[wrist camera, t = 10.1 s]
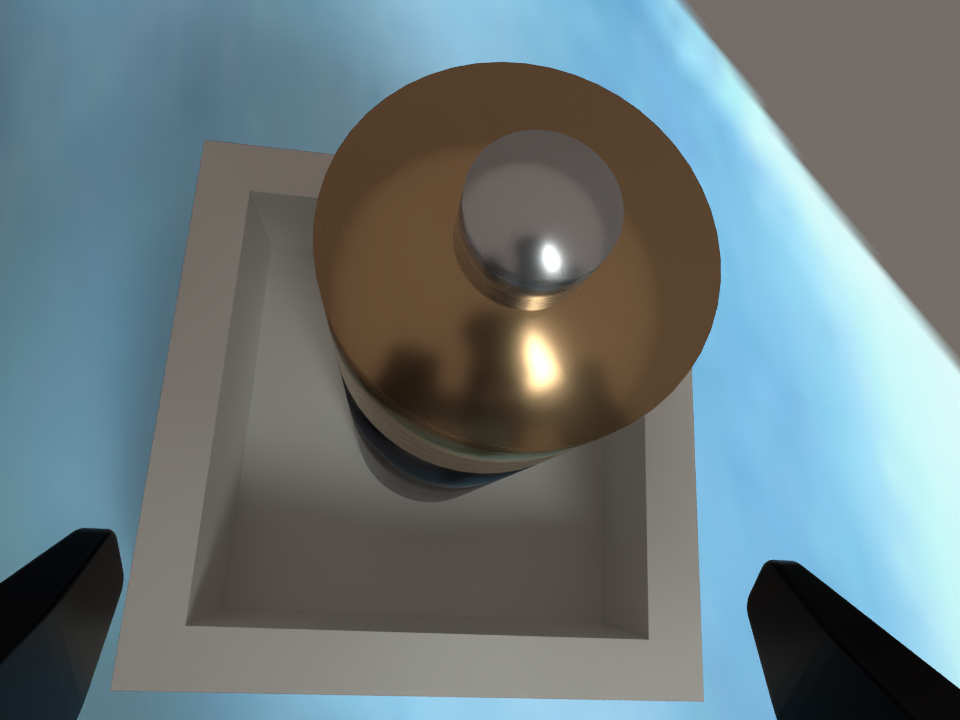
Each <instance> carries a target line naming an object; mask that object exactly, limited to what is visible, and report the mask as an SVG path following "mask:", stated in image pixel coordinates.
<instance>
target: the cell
mask: <svg viewBox="0 0 960 720" xmlns="http://www.w3.org/2000/svg"><path fill="white" fill-rule="evenodd" d="M313 256H314V264H315V272H316V279H317V282H318V286H319V290H320V294H321V298H322V302H323V306H324V310H325V314H326V318H327V322H328V326H329V330H330V334H331V338H332V341H333V345H334V349H335V353H336V357H337V361H338V365H339V369H340V373H341V377H342V381H343V385H344V389H345V393H346V397H347V400H348V404H349V408H350V412H351V416H352V420H353V424H354V428H355V432H356V436H357V440H358V444H359V447H360V451H361V454H362V456H363V459H364V461H365V463H366V465H367V466H368V468H369V470H370V471H371V472H372V474H373V475H374V476H375V477H376V478H377V479H378V480H379V481H380V482H381V483H382V484H383V485H384V486H385V487H387V488H388V489H389V490H391V491H393V492H394V493H396V494H398V495H400V496H403V497H405V498H408V499H411V500H415V501H421V502H441V501H447V500H451V499H454V498H457V497H460V496H462V495H464V494H467V493H469V492H472V491H474V490H477V489H479V488H481V487H484V486H486V485H489V484H491V483H493V482H496V481H498V480H501V479H503V478H506V477H508V476H510V475H513V474H515V473H518V472H520V471H522V470H525V469H527V468H530V467H532V466H535V465H537V464H539V463H542V462H544V461H547V460H549V459H551V458H554V457H556V456H559V455H561V454H564V453H566V452H568V451H571V450H573V449H576V448H578V447H580V446H583V445H585V444H588V443H590V442H593V441H595V440H597V439H600V438H602V437H605V436H607V435H609V434H611V433H613V432H615V431H618V430H620V429H622V428H624V427H626V426H628V425H630V424H632V423H633V422H635V421H636V420H638V419H640V418H641V417H643V416H644V415H646V414H647V413H649V412H650V411H652V410H653V409H654V408H655V407H656V406H658V405H659V404H660V403H661V402H662V401H663V400H664V399H665V398H666V397H668V396H669V395H670V394H671V393H672V392H673V391H674V390H675V388H676V387H677V386H678V385H679V384H680V382H681V381H682V380H683V379H684V378H685V376H686V375H687V374H688V373H689V371H690V369H691V368H692V366H693V365H694V363H695V361H696V360H697V358H698V357H699V355H700V353H701V351H702V349H703V347H704V345H705V342H706V340H707V338H708V335H709V333H710V331H711V328H712V324H713V321H714V317H715V313H716V310H717V306H718V298H719V291H720V283H721V259H720V250H719V243H718V236H717V231H716V227H715V223H714V220H713V216H712V212H711V209H710V207H709V204H708V202H707V199H706V197H705V194H704V192H703V189H702V187H701V185H700V183H699V182H698V180H697V178H696V176H695V174H694V173H693V171H692V169H691V167H690V165H689V164H688V163H687V161H686V160H685V159H684V157H683V156H682V154H681V153H680V152H679V150H678V149H677V147H676V146H675V145H674V144H673V143H672V141H671V140H670V139H669V138H668V137H667V136H666V135H665V134H664V133H663V132H662V130H661V129H660V128H659V127H658V126H657V125H655V124H654V123H653V122H652V121H651V120H650V119H649V118H648V117H646V116H645V115H644V114H643V113H642V112H641V111H640V110H638V109H637V108H635V107H634V106H632V105H631V104H630V103H628V102H627V101H625V100H624V99H622V98H621V97H620V96H618V95H616V94H614V93H612V92H611V91H609V90H607V89H605V88H603V87H602V86H600V85H598V84H596V83H593V82H591V81H588V80H586V79H584V78H581V77H579V76H576V75H574V74H570V73H567V72H563V71H560V70H556V69H553V68H549V67H543V66H537V65H532V64H526V63H509V62H493V63H476V64H471V65H465V66H459V67H454V68H450V69H447V70H443V71H440V72H437V73H434V74H430V75H428V76H425V77H423V78H421V79H419V80H417V81H414V82H412V83H410V84H408V85H406V86H404V87H403V88H401V89H399V90H398V91H396V92H395V93H393V94H391V95H390V96H388V97H386V98H385V99H384V100H383V101H381V102H380V103H379V104H378V105H377V106H375V107H374V108H373V109H372V110H371V111H369V112H368V113H367V114H366V115H365V116H364V117H363V118H362V119H361V120H360V122H359V123H358V124H357V125H356V126H355V127H354V128H353V129H352V130H351V131H350V133H349V134H348V136H347V137H346V139H345V140H344V142H343V143H342V144H341V146H340V147H339V149H338V150H337V152H336V154H335V156H334V158H333V160H332V162H331V164H330V166H329V168H328V170H327V172H326V174H325V177H324V180H323V183H322V186H321V189H320V192H319V196H318V199H317V205H316V211H315V217H314V223H313Z"/></svg>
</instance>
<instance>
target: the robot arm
mask: <svg viewBox="0 0 960 720" xmlns="http://www.w3.org/2000/svg"><path fill="white" fill-rule="evenodd" d="M122 586H123V568H122V563H121V558H120V552H119V547H118V542H117V537H116V534H115V533H114V532H113V531H112V530H109V529H97V528H81V529H78V530H75V531H74V532H72V533H71V534H69V535H68V536H66V537H65V538H64V539H62V540H61V541H59V542H58V543H56V544H55V545H54V546H52V547H51V548H49V549H48V550H47V551H45V552H44V553H42V554H41V555H39V556H38V557H37V558H35V559H34V560H32V561H31V562H30V563H28V564H27V565H25V566H24V567H22V568H21V569H20V570H18V571H17V572H15V573H14V574H13V575H11V576H10V577H8V578H7V579H5V580H4V581H3V582H1V583H0V720H77V718H78V716H79V713H80V711H81V709H82V706H83V703H84V701H85V698H86V695H87V692H88V690H89V687H90V684H91V681H92V678H93V675H94V672H95V669H96V666H97V663H98V660H99V657H100V654H101V651H102V648H103V645H104V642H105V639H106V636H107V633H108V630H109V627H110V624H111V621H112V618H113V615H114V612H115V609H116V606H117V603H118V600H119V597H120V594H121V591H122ZM747 612H748V617H749V621H750V625H751V628H752V632H753V636H754V639H755V643H756V647H757V650H758V654H759V658H760V661H761V665H762V669H763V672H764V676H765V680H766V683H767V687H768V691H769V694H770V698H771V702H772V705H773V708H774V711H775V715H776V718H777V720H960V689H959V688H958V687H957V686H955V685H954V684H953V683H952V682H950V681H949V680H948V679H946V678H945V677H944V676H943V675H941V674H940V673H939V672H937V671H936V670H935V669H934V668H932V667H931V666H930V665H929V664H927V663H926V662H925V661H923V660H922V659H921V658H920V657H918V656H917V655H916V654H914V653H913V652H912V651H911V650H909V649H908V648H907V647H906V646H904V645H903V644H902V643H900V642H899V641H898V640H897V639H895V638H894V637H893V636H891V635H890V634H889V633H888V632H886V631H885V630H884V629H883V628H881V627H880V626H879V625H877V624H876V623H875V622H874V621H872V620H871V619H870V618H868V617H867V616H866V615H865V614H863V613H862V612H861V611H859V610H858V609H857V608H856V607H854V606H853V605H852V604H851V603H849V602H848V601H847V600H845V599H844V598H843V597H842V596H840V595H839V594H838V593H836V592H835V591H834V590H833V589H831V588H830V587H829V586H828V585H826V584H825V583H824V582H822V581H821V580H820V579H819V578H817V577H816V576H815V575H813V574H812V573H811V572H810V571H808V570H807V569H806V568H805V567H803V566H802V565H800V564H799V563H797V562H794V561H786V560H769V561H767V562H766V563H765V564H764V565H763V567H762V569H761V571H760V573H759V575H758V577H757V580H756V582H755V584H754V586H753V588H752V590H751V592H750V595H749V597H748V602H747Z"/></svg>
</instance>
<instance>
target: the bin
mask: <svg viewBox="0 0 960 720" xmlns="http://www.w3.org/2000/svg"><path fill="white" fill-rule="evenodd" d="M334 156H335V155H334V154H325V153H316V152H307V151H298V150H289V149H280V148H272V147H263V146H254V145H245V144H236V143H227V142H218V141H210V140H204V146H203V152H202V158H201V163H200V169H199V175H198V181H197V187H196V193H195V198H194V204H193V210H192V216H191V222H190V228H189V234H188V239H187V245H186V251H185V257H184V263H183V269H182V274H181V280H180V286H179V292H178V298H177V304H176V309H175V315H174V321H173V327H172V333H171V339H170V344H169V350H168V356H167V362H166V368H165V374H164V380H163V385H162V391H161V397H160V403H159V409H158V415H157V420H156V426H155V432H154V438H153V444H152V450H151V455H150V461H149V467H148V473H147V479H146V485H145V491H144V496H143V502H142V508H141V514H140V520H139V526H138V531H137V537H136V543H135V549H134V555H133V561H132V566H131V572H130V578H129V584H128V590H127V596H126V601H125V607H124V613H123V619H122V625H121V631H120V637H119V642H118V648H117V654H116V660H115V666H114V672H113V677H112V683H111V689H110V691H158V692H212V693H265V694H319V695H373V696H426V697H480V698H533V699H587V700H641V701H694V702H704V692H703V664H702V637H701V609H700V582H699V555H698V527H697V500H696V472H695V445H694V417H693V390H692V368H691V369H690V371H689V373H688V374H687V375H686V376H685V378H684V379H683V380H682V381H681V382H680V384H679V385H678V386H677V387H676V388H675V390H674V391H673V392H672V393H671V394H670V395H669V396H668V397H666V398H665V399H664V400H663V401H662V402H661V403H660V404H659V405H658V406H656V407H655V408H654V409H653V410H652V411H650V412H649V413H647V414H646V415H644V416H643V417H641V418H640V419H638V420H636V421H635V422H633V423H632V424H630V425H628V426H626V427H624V428H622V429H620V430H618V431H615V432H613V433H611V434H609V435H607V436H605V437H602V438H600V439H597V440H595V441H593V442H590V443H588V444H585V445H583V446H580V447H578V448H576V449H573V450H571V451H568V452H566V453H564V454H561V455H559V456H556V457H554V458H551V459H549V460H547V461H544V462H542V463H539V464H537V465H535V466H532V467H530V468H527V469H525V470H522V471H520V472H518V473H515V474H513V475H510V476H508V477H506V478H503V479H501V480H498V481H496V482H493V483H491V484H489V485H486V486H484V487H481V488H479V489H477V490H474V491H472V492H469V493H467V494H464V495H462V496H460V497H457V498H454V499H451V500H447V501H441V502H421V501H415V500H411V499H408V498H405V497H403V496H400V495H398V494H396V493H394V492H393V491H391V490H389V489H388V488H387V487H385V486H384V485H383V484H382V483H381V482H380V481H379V480H378V479H377V478H376V477H375V476H374V475H373V474H372V472H371V471H370V470H369V468H368V466H367V465H366V463H365V461H364V459H363V456H362V454H361V451H360V447H359V444H358V440H357V436H356V432H355V428H354V424H353V420H352V416H351V412H350V408H349V404H348V400H347V397H346V393H345V389H344V385H343V381H342V377H341V373H340V369H339V365H338V361H337V357H336V353H335V349H334V345H333V341H332V338H331V334H330V330H329V326H328V322H327V318H326V314H325V310H324V306H323V302H322V298H321V294H320V290H319V286H318V282H317V279H316V272H315V264H314V256H313V223H314V217H315V211H316V205H317V199H318V196H319V192H320V189H321V186H322V183H323V180H324V177H325V174H326V172H327V170H328V168H329V166H330V164H331V162H332V160H333V158H334Z"/></svg>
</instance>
